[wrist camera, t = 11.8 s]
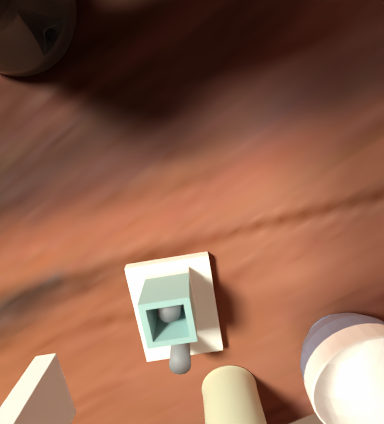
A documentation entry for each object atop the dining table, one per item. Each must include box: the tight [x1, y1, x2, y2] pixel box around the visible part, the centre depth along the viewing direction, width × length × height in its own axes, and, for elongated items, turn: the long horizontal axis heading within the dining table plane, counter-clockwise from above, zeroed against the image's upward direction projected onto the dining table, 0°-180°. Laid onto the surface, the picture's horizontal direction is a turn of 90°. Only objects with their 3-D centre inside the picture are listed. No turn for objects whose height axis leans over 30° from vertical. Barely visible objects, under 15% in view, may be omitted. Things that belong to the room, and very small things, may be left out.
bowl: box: [300, 313, 384, 424], centre depth 40 cm, size 16×16×10 cm
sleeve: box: [137, 266, 197, 349], centre depth 36 cm, size 6×6×8 cm
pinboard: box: [125, 251, 223, 374], centre depth 38 cm, size 16×12×8 cm
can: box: [202, 365, 267, 424], centre depth 40 cm, size 9×9×12 cm
